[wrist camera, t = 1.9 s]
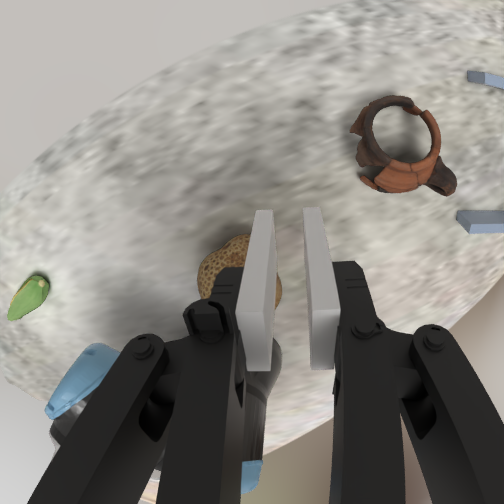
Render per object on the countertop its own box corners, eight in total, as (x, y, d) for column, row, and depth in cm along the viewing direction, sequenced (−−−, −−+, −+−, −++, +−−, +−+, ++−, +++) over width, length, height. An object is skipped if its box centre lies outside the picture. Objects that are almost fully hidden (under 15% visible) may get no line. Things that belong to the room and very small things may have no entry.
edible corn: (49, 304, 41) (26, 289, 38) (15, 329, 49) (-2, 318, 46) (58, 279, 45) (37, 264, 42) (22, 308, 52) (6, 297, 49)
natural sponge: (226, 293, 41) (212, 351, 32) (193, 238, 37) (168, 292, 28) (292, 275, 38) (292, 335, 30) (264, 213, 34) (257, 265, 26)
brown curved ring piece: (331, 176, 32) (339, 154, 23) (360, 104, 31) (373, 68, 22) (427, 225, 30) (461, 220, 22) (451, 152, 29) (485, 130, 21)
